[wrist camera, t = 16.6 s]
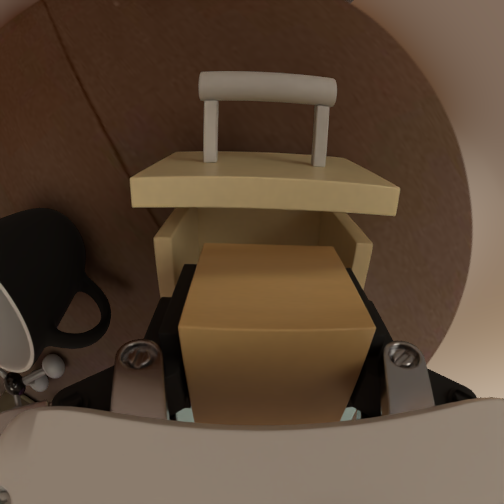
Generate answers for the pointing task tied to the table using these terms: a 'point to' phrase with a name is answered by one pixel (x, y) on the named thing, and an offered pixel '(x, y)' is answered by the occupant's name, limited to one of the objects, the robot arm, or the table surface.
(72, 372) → the table surface
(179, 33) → the table surface
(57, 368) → the molecular model
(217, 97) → the drawer
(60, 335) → the mug
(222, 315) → the block
